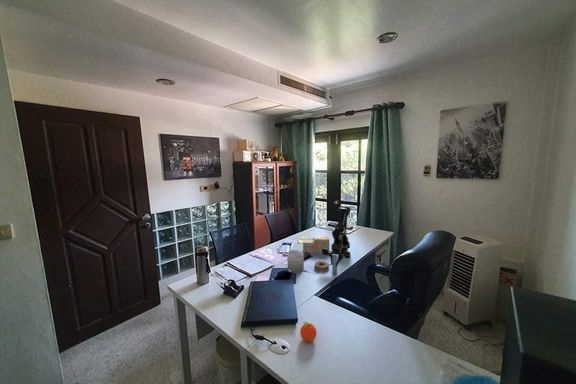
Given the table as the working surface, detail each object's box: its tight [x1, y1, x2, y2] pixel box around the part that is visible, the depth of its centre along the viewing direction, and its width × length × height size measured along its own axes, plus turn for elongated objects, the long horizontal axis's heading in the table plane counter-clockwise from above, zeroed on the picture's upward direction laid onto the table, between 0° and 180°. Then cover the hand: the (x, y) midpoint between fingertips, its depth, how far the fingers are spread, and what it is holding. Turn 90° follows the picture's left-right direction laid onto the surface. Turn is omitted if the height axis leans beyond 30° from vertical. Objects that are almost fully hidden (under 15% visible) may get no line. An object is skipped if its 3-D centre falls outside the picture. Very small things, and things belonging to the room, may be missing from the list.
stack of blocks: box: [302, 236, 330, 255], centre depth 189 cm, size 21×6×12 cm, turn 85°
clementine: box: [299, 321, 317, 343], centre depth 98 cm, size 8×7×7 cm
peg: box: [331, 254, 338, 276], centre depth 152 cm, size 3×3×12 cm
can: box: [286, 249, 305, 274], centre depth 160 cm, size 11×11×12 cm
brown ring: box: [314, 260, 330, 273], centre depth 161 cm, size 10×10×3 cm
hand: (334, 265), depth 151 cm, fingers closed on peg, 3 cm apart
